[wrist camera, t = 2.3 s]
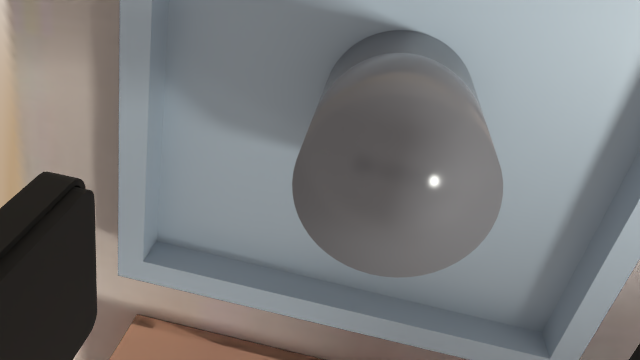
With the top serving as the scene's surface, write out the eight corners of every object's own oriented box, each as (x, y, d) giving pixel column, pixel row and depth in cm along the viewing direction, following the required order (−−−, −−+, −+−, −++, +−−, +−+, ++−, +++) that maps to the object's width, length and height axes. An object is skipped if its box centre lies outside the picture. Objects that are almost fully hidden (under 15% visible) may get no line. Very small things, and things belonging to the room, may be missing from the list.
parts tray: (825, -145, 14) (883, -148, 13) (553, 344, 23) (565, 382, 21) (154, -286, 15) (121, -308, 13) (139, 246, 24) (118, 275, 22)
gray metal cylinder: (496, 49, 17) (536, 124, 12) (448, 185, 20) (464, 296, 14) (340, 14, 17) (311, 73, 12) (311, 153, 20) (278, 252, 15)
